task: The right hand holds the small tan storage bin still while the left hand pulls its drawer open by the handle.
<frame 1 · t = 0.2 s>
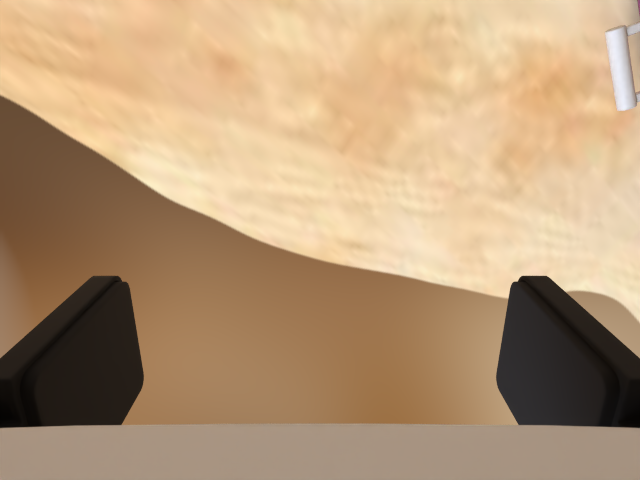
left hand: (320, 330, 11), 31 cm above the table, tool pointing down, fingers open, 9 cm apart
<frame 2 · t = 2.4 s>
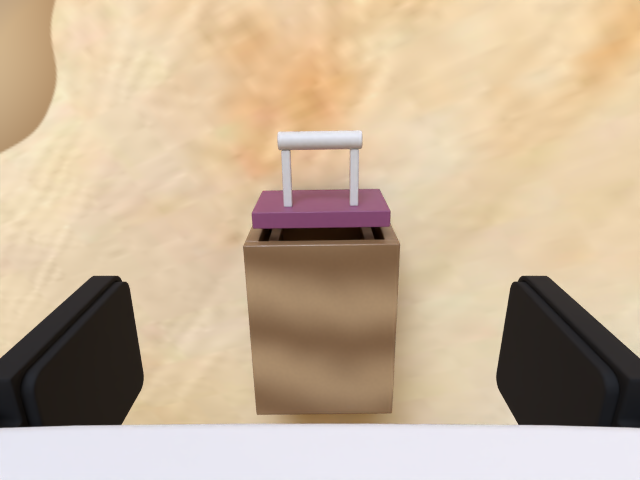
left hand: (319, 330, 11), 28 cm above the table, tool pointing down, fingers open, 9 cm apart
tan storage bin: (322, 286, 42), on the table
drawer: (321, 248, 36), point 4 cm above the table, slide at 0.9 cm
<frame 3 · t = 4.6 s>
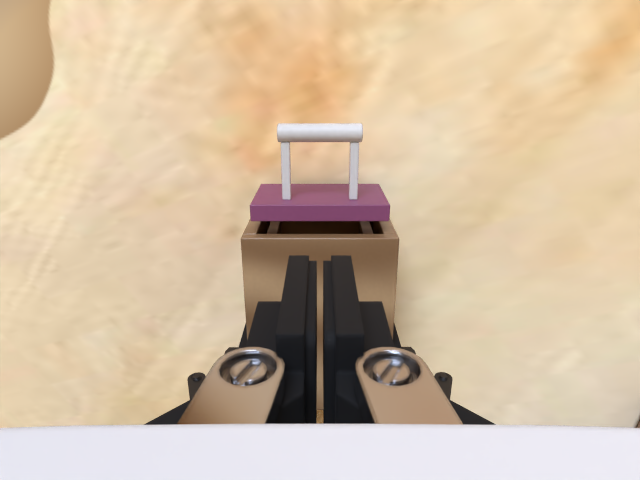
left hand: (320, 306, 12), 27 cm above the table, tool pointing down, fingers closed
tan storage bin: (319, 282, 41), on the table, touching right hand
drawer: (319, 243, 36), point 4 cm above the table, slide at 0.9 cm
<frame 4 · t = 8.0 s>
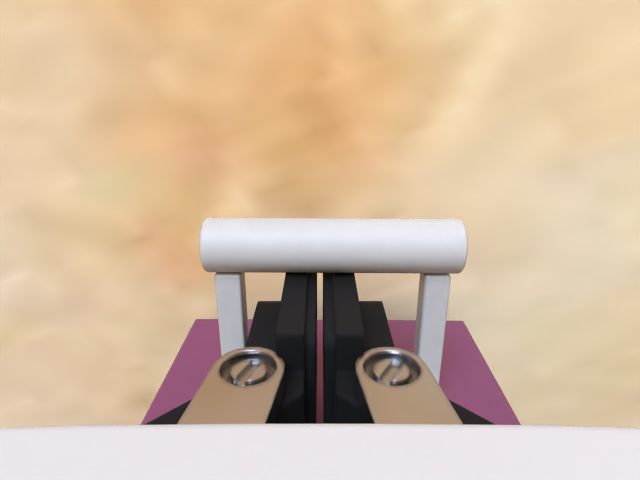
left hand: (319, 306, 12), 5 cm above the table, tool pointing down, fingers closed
drawer: (328, 476, 15), point 4 cm above the table, slide at 0.9 cm, touching left hand
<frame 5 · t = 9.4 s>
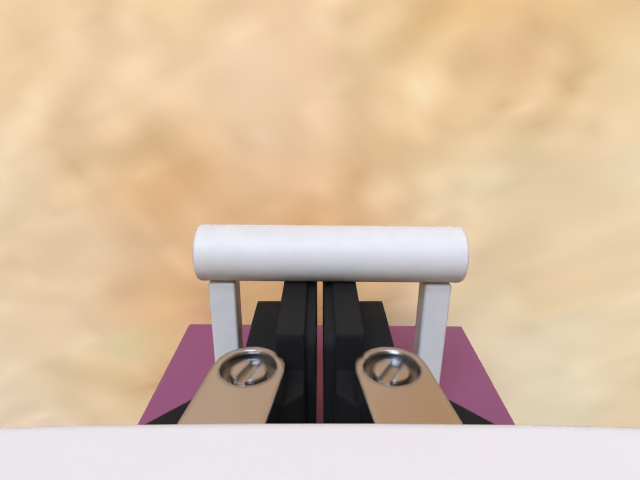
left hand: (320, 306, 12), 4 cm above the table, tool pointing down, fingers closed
when the right hand's fingers open (4 cm above the table, at t = 11.2 s): tan storage bin stays where it is, on the table.
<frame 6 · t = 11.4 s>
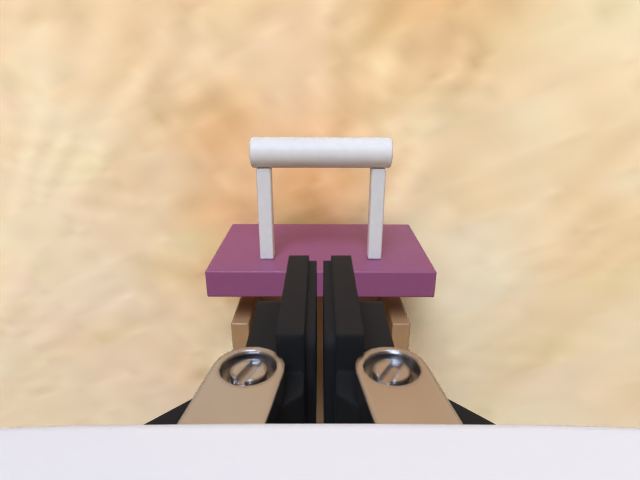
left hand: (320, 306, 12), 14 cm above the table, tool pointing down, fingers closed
drawer: (320, 317, 23), point 4 cm above the table, slide at 7.0 cm
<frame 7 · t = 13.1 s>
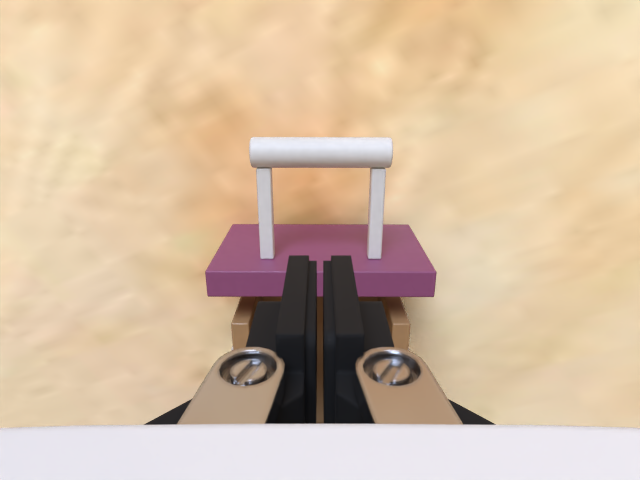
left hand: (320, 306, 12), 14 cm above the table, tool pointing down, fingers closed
drawer: (320, 317, 23), point 4 cm above the table, slide at 7.0 cm
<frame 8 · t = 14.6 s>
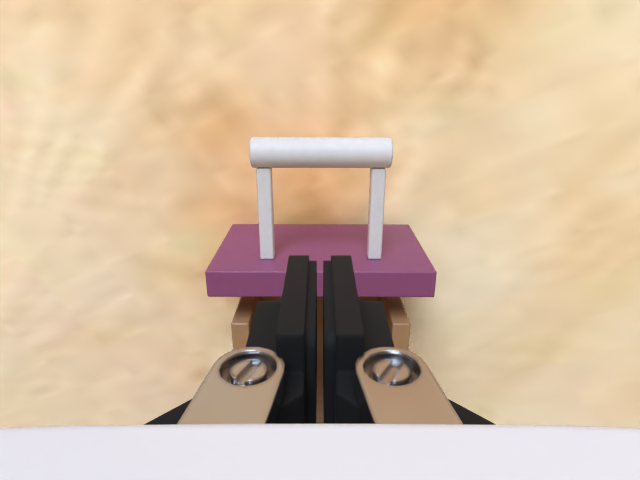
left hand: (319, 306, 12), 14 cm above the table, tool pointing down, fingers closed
drawer: (320, 317, 23), point 4 cm above the table, slide at 7.0 cm
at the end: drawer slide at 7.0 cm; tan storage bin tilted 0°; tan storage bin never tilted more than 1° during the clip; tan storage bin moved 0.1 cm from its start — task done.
